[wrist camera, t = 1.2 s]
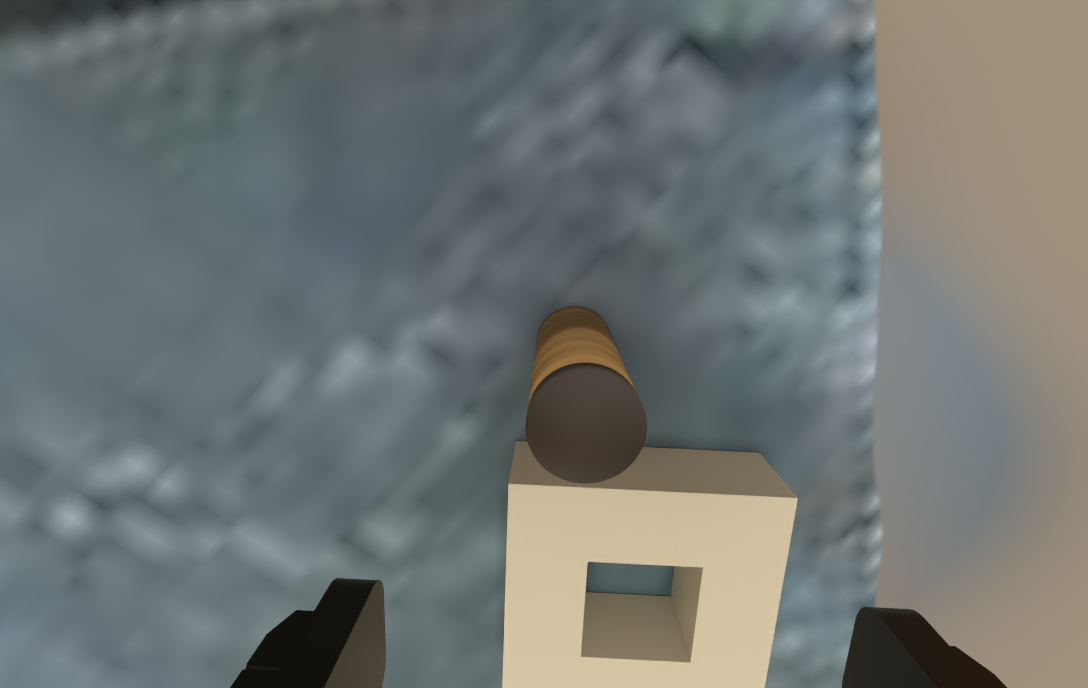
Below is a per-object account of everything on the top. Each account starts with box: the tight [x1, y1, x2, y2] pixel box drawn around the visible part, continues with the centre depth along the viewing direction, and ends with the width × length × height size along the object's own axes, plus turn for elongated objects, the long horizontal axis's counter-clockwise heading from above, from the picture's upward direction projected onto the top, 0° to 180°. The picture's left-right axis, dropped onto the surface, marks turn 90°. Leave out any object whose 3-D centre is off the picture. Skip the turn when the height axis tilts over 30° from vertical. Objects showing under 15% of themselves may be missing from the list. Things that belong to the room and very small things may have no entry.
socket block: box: [503, 441, 798, 688], centre depth 30 cm, size 14×14×5 cm
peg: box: [526, 306, 647, 484], centre depth 23 cm, size 4×4×12 cm
